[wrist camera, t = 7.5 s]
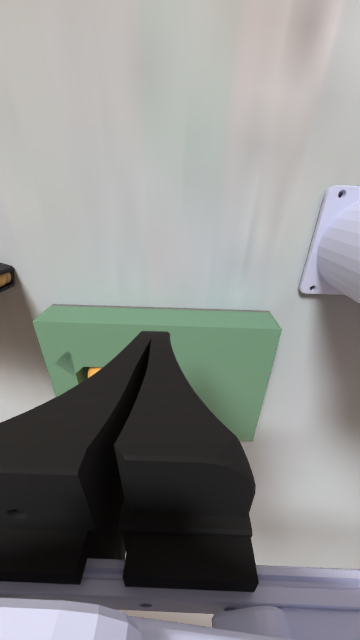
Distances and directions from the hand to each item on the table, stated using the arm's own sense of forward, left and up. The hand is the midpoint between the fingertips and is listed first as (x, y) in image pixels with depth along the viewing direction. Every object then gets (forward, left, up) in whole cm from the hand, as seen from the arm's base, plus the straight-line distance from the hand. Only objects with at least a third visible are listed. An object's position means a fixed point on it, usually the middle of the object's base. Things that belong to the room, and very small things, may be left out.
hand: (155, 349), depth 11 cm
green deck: (+1, +10, -10) cm, 14 cm away
